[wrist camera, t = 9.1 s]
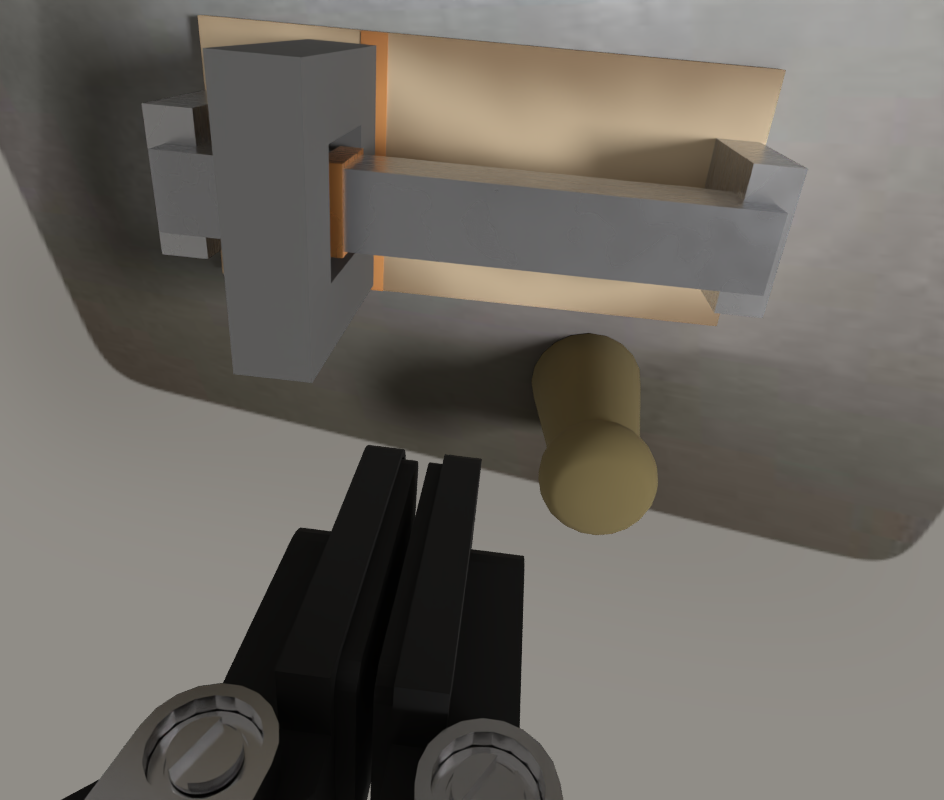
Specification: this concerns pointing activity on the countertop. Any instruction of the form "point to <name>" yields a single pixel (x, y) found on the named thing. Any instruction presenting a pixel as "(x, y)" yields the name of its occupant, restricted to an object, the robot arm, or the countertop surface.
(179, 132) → the grey blocky piece
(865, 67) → the countertop surface
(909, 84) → the countertop surface
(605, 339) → the cork
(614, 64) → the board
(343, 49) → the slotted grey block
